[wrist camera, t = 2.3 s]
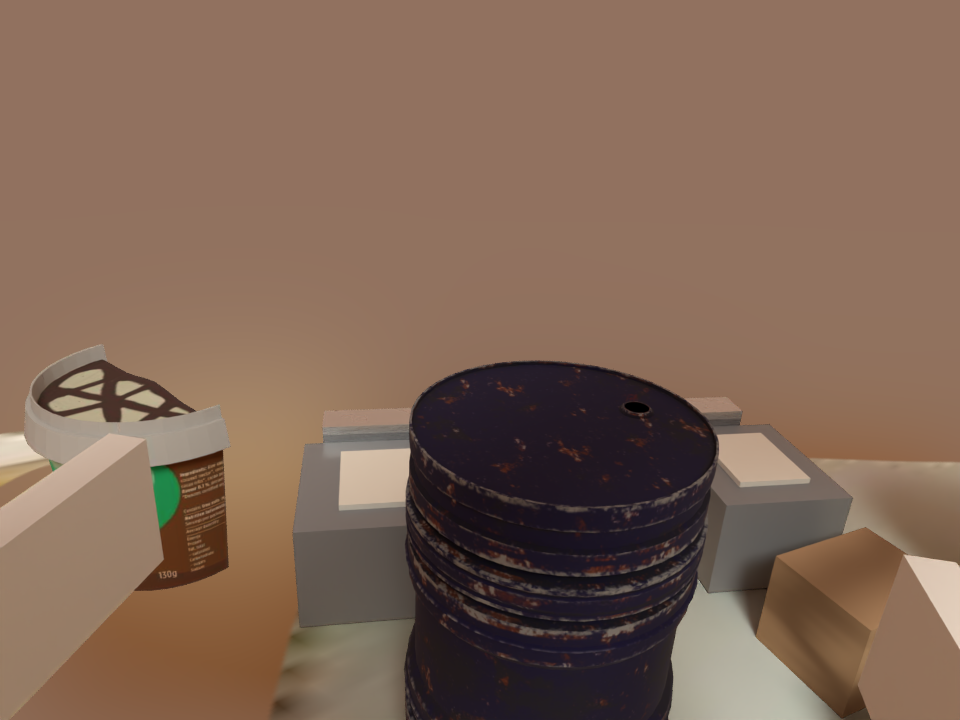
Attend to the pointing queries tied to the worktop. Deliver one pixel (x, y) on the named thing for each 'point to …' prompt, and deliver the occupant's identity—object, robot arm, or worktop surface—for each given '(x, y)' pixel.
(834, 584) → the walnut block
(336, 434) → the rail
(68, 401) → the food container
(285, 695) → the worktop surface
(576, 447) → the rusty oil drum
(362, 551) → the block
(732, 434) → the module block
